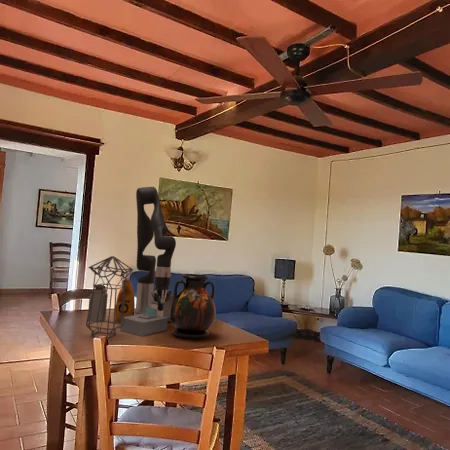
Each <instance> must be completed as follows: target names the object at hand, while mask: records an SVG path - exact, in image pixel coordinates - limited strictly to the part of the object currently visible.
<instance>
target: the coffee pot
mask: <svg viewBox="0 0 450 450" xmlns="http://www.w3.org/2000/svg"><path fill="white" fill-rule="evenodd" d="M163 297H164V296H163ZM165 299H166V298H165ZM173 299H174V295H170V296H169V298H168V300H167V301H165V303H164V309H163V317H167V318H168V321H167V323H172V322H171V319H170V308H171V304H172V303H173Z"/></svg>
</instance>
